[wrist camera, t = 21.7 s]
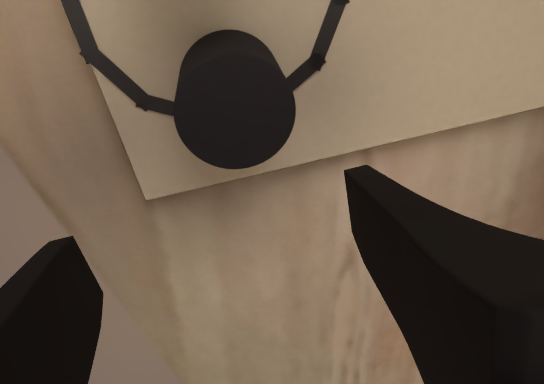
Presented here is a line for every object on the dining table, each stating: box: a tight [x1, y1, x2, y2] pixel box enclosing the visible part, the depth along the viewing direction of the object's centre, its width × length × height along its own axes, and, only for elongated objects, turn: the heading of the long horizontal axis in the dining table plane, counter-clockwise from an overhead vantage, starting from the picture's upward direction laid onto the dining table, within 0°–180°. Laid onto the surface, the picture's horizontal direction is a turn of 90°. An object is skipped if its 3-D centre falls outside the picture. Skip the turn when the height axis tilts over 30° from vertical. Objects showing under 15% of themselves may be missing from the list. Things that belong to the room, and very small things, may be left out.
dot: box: [173, 29, 296, 169], centre depth 17 cm, size 4×4×4 cm
